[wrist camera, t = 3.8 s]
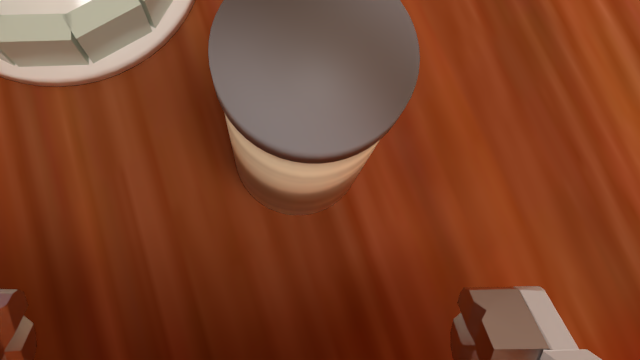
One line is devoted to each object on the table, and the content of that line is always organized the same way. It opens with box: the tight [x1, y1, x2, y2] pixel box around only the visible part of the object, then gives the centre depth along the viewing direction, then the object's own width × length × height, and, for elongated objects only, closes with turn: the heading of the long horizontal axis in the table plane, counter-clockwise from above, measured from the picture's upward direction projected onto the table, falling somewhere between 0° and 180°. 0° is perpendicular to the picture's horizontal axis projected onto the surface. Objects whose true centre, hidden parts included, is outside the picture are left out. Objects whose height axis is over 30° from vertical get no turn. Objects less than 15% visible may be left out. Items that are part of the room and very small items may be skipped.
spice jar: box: [208, 0, 420, 215], centre depth 18 cm, size 5×5×9 cm
